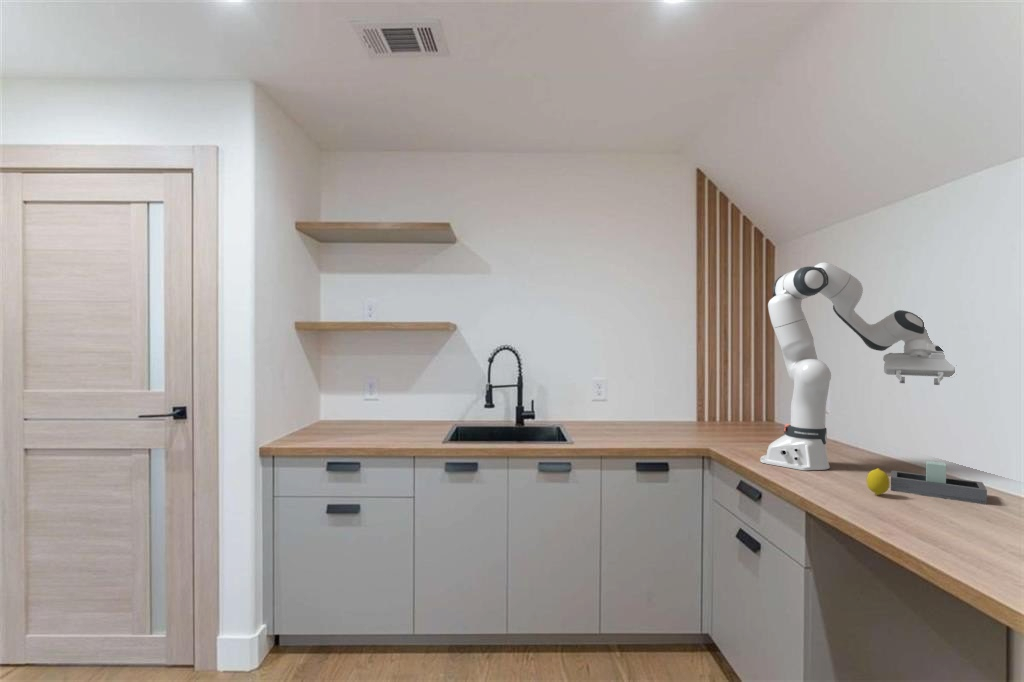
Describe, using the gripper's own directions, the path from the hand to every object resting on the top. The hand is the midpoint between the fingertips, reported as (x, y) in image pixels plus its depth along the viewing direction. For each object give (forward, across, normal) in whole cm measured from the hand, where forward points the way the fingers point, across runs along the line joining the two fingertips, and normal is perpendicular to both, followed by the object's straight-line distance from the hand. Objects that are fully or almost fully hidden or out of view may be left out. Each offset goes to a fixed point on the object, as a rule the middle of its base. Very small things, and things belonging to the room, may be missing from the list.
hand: (919, 383), depth 182 cm
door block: (+39, +4, +4) cm, 39 cm away
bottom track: (+40, +4, +4) cm, 40 cm away
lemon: (+50, -10, -6) cm, 51 cm away
